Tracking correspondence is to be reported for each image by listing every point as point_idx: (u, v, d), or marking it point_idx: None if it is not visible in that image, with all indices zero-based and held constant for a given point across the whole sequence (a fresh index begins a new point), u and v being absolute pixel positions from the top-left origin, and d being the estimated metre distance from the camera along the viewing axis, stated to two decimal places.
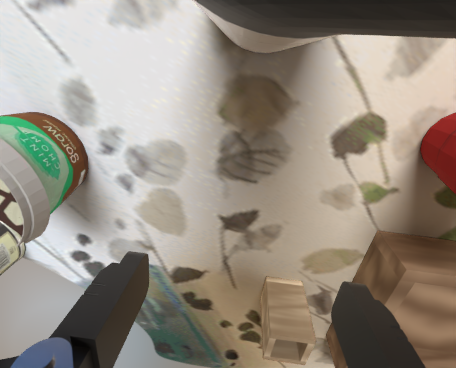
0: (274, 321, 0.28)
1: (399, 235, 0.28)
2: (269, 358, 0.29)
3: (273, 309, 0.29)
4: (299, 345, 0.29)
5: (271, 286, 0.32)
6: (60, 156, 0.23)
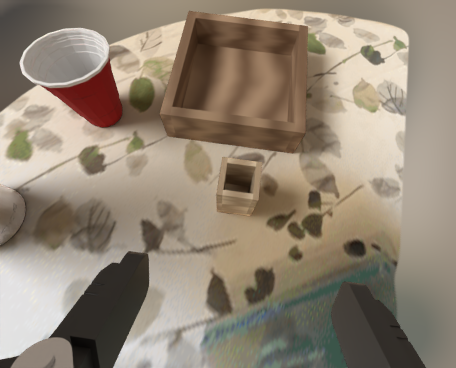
0: None
1: None
2: (256, 194, 0.29)
3: None
4: (250, 170, 0.31)
5: None
6: None
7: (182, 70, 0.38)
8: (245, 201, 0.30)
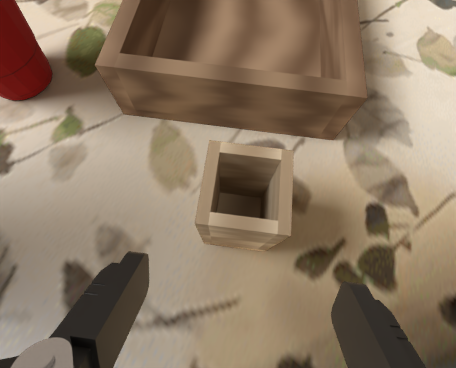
0: None
1: None
2: (285, 221, 0.13)
3: None
4: (267, 168, 0.15)
5: None
6: None
7: None
8: (259, 236, 0.14)
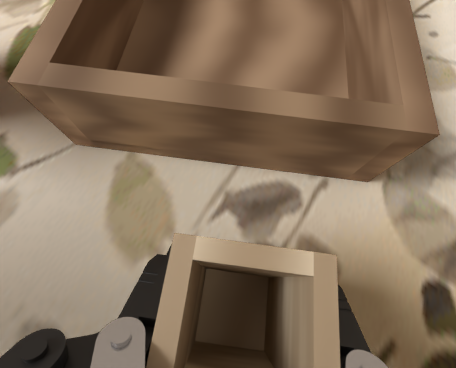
0: None
1: None
2: None
3: None
4: (283, 274, 0.08)
5: None
6: None
7: None
8: None
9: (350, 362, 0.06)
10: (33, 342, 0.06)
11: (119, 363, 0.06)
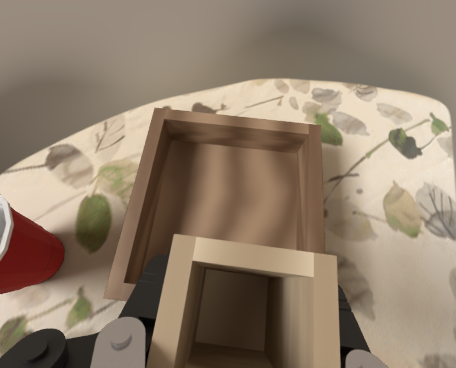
0: None
1: None
2: None
3: None
4: (283, 275, 0.08)
5: None
6: None
7: (142, 210, 0.26)
8: None
9: (350, 362, 0.06)
10: (33, 342, 0.06)
11: (119, 362, 0.06)
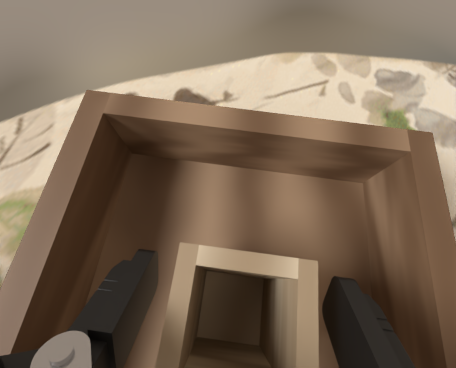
0: None
1: None
2: None
3: None
4: None
5: None
6: None
7: (21, 341, 0.10)
8: None
9: None
10: None
11: None
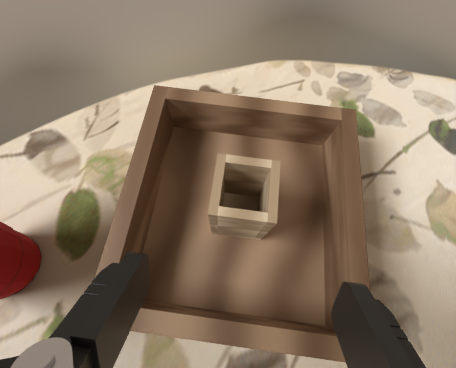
0: None
1: None
2: (273, 213, 0.18)
3: None
4: (261, 174, 0.20)
5: None
6: None
7: (135, 209, 0.21)
8: (255, 224, 0.18)
9: None
10: None
11: None
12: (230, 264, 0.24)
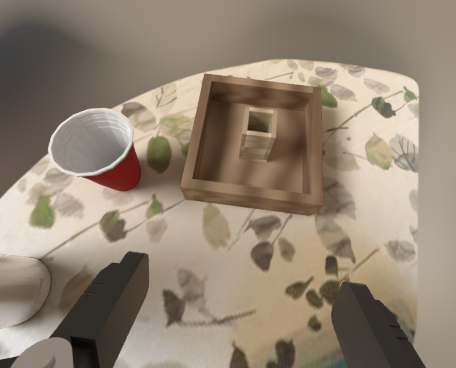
0: None
1: None
2: (273, 133, 0.36)
3: None
4: (267, 118, 0.38)
5: (239, 151, 0.42)
6: None
7: (200, 138, 0.39)
8: (264, 141, 0.37)
9: None
10: None
11: None
12: (249, 174, 0.42)
